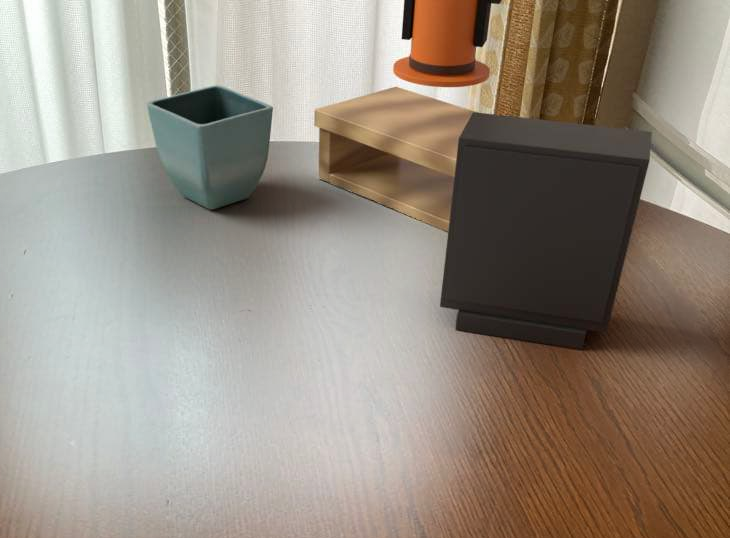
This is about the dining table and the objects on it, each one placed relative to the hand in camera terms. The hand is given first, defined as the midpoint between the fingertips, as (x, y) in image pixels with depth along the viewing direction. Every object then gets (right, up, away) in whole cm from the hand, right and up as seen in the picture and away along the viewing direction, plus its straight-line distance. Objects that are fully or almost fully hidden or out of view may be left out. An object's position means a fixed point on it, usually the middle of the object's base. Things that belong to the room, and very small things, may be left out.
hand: (444, 39), depth 84 cm
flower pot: (-22, -12, +8) cm, 26 cm away
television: (+5, -28, -10) cm, 30 cm away
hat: (0, -2, +2) cm, 3 cm away
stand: (0, -11, +10) cm, 14 cm away
